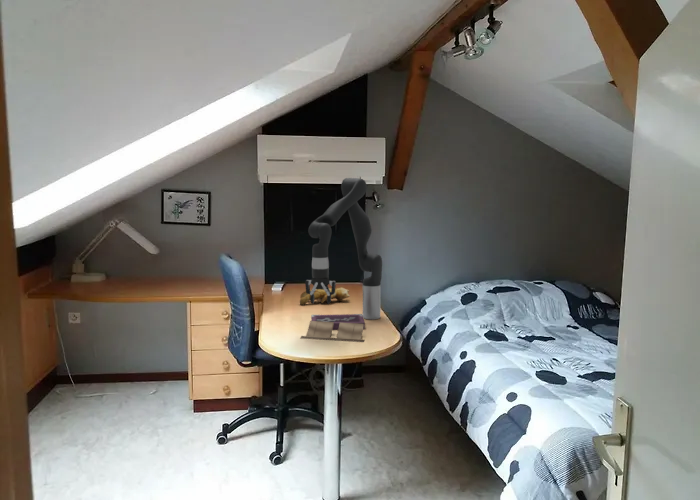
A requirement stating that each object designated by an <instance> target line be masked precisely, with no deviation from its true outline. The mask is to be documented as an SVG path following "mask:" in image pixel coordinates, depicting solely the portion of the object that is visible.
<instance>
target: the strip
mask: <svg viewBox="0 0 700 500" xmlns="http://www.w3.org/2000/svg"><path fill="white" fill-rule="evenodd" d="M299 339H301V340H302V339H303V340H315V341H316V340H318V341H334V342H335V341H336V342H348V343H350V342H352V343H365V339H362V338H361V339H346V338H336V337H330V338H329V337H312V336H306V335H301V336H300V338H299Z"/></svg>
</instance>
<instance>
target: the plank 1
mask: <svg viewBox="0 0 700 500" xmlns="http://www.w3.org/2000/svg"><path fill="white" fill-rule="evenodd" d="M333 325H334V322H321V321H311V320H310V321H309V324H308V328H307V331H306V334H305V336H312V337H329V338H332V333H333V330H332V329H333Z"/></svg>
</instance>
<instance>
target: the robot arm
mask: <svg viewBox="0 0 700 500" xmlns="http://www.w3.org/2000/svg"><path fill="white" fill-rule="evenodd" d="M367 188H368V186H367V182H366V181H365V180H364V179H363V178H359V177H358V178H357V177H346V178H344V179H342V182H341V185H340V189H341V193H342V194H341V195H342V198H340V199H338V200H337V201H335V202H334V203H332V204H331V205H330V206H329V207H328V208H327V209H326V210H325V212H324V213H323V214H322V215H320V216H318V217H317V218H316V219H314V220H313V221H312V222H311V223H310V225H309V227H308V230H307V231H308V235H309V236H310V237H311V238H312V239H319V241H318V243H315V244H313V245H312V249H311V250H312V255H311V256H312V258H311V259H312V260H311V279H306V280H305V281H304V282H305V283H304V284H305V291H306V293H307V294H310V300H309V301H310V302H311V304H314V303H315V300H314V292H315V290H316V289H321V290H325V292H326V293H327V295H328V296H327V300H326V304H327V305H329V304H330V303H331V302H332V299H331V295H333V294H334V293H335V289H336V287H337V284H336V283H337V282H336V280H330V277H329V275H330V272H329V270H330V268H329V267H330V261H329V245H330V242H331V237H332V232H333V231H332V228H331V227H333V226H335V225H336V224H337V222H338V221H339V220H340V219H341V218H342V216H343V215H344V214H345V213H346V212H348V216H349V219H350V224H351V225H350V226H351V228H352V229H351V230H352V232H353V236H354V240H355V244H356V251H357V256H358V257H357V259H358V264H359V265H358V266H359V268H360V270H361V271H363V272H366V273H367V272H368V273H369V272H370V273H371V275H370V276H369V277H366V278H363V280H362V315H363V319H366V320H378V319H381V287H382V285H381V283H382V278H383V277H382V274H383V273H382V271H383V260H382V259H383V258H382V256H381V255H380V254H375V253H369V251H368V248H367V246H368V245H367V244H368V242H369V240H370V237H371V235H372V230H373V229H372V226H371V221H370V218H369V216H368V214H367V213H366V212H365V211H364V210H363V208H362V207H361V206H360V205H359V202H358V201H359V200H360V199H361V198H363V197H364V195H365V194H366V192H367ZM310 285H313V286H312V289H311V286H310ZM329 285H330V286H331V288H332V290H331V292H330V290H329V288H330V287H329ZM310 290H312V291H310Z"/></svg>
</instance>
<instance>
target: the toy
mask: <svg viewBox="0 0 700 500" xmlns="http://www.w3.org/2000/svg"><path fill="white" fill-rule="evenodd" d="M328 288H329V290H330V292H331V290H332V287H331V288H330V287H328ZM310 291H312V289H310ZM349 292H350V290H349V289H346V288H344V287H337V288H335V293H334V294H333V295H331V300H337V301H339V302H342V301H343V300H346V299H347V298H350V297H351V295H350V294H349ZM327 296H328V295H327V293H326V292H325V290H321V289H316V290H315V292H314V301H316V300H317V301H318V300H320V303H321V304H324V302H327ZM309 301H310V294H307V293H306V290H305V291H303V292H302V293H301V294H300V299H299V304H300V306H304V305H306V304H307V303H308V302H309Z"/></svg>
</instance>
